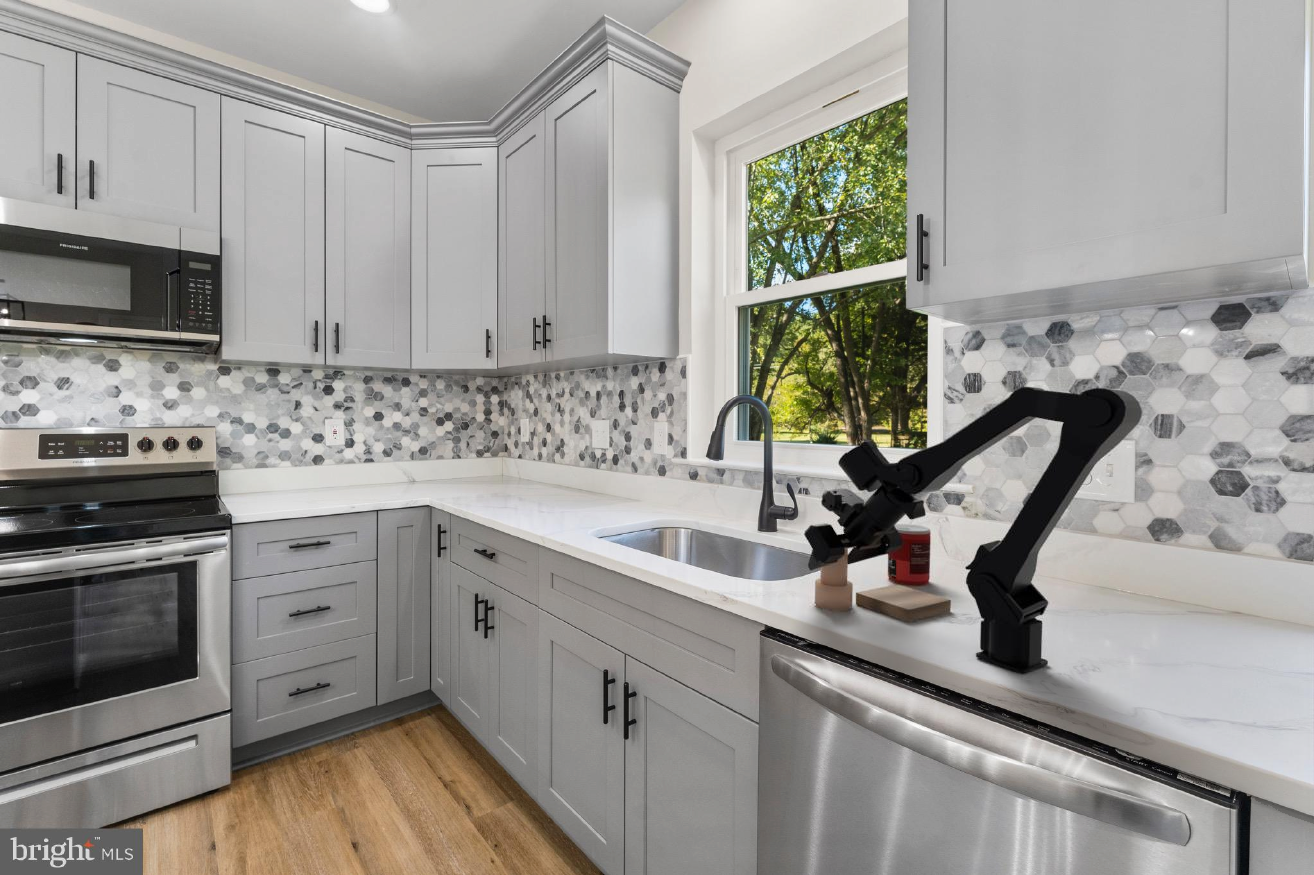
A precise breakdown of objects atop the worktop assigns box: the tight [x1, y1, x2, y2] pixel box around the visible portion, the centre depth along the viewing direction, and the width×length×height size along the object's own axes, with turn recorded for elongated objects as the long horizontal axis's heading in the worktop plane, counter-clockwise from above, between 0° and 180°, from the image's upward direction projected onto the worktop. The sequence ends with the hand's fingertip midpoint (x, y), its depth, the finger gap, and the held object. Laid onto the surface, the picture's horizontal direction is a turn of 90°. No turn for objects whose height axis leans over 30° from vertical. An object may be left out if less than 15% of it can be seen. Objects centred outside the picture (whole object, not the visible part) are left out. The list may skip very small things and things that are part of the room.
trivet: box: [855, 583, 952, 623], centre depth 106 cm, size 11×11×2 cm
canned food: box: [887, 523, 932, 587], centre depth 124 cm, size 8×8×11 cm
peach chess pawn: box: [814, 548, 854, 612], centre depth 107 cm, size 6×6×11 cm
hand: (828, 565), depth 108 cm, fingers open, 9 cm apart
